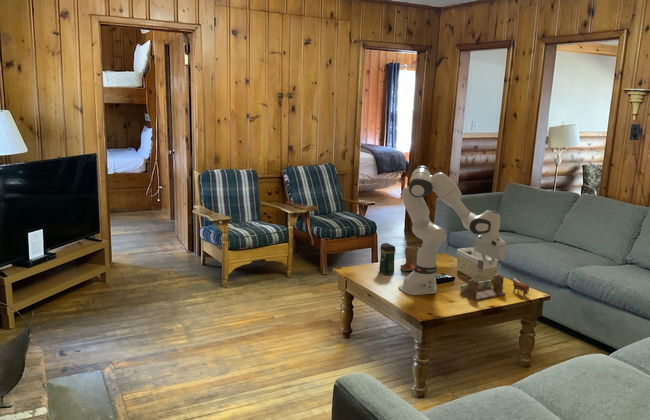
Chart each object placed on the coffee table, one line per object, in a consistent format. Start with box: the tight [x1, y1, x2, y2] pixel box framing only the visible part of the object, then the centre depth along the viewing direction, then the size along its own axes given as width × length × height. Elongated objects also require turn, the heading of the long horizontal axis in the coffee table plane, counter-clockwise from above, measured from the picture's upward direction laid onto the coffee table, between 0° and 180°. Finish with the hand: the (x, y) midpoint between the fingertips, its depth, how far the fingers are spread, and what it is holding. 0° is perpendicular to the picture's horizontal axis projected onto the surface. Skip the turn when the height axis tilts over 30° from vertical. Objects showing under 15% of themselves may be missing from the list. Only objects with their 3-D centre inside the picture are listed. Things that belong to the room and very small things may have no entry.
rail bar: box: [477, 258, 499, 270], centre depth 302 cm, size 12×4×4 cm, turn 119°
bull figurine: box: [510, 277, 530, 298], centre depth 310 cm, size 4×13×8 cm, turn 21°
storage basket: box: [456, 246, 500, 282], centre depth 340 cm, size 24×16×15 cm
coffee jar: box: [378, 242, 396, 275], centre depth 338 cm, size 10×8×19 cm
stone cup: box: [400, 246, 421, 272], centre depth 346 cm, size 15×12×15 cm
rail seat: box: [459, 273, 506, 302], centre depth 307 cm, size 23×12×11 cm, turn 119°
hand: (487, 263), depth 302 cm, fingers closed on rail bar, 3 cm apart
